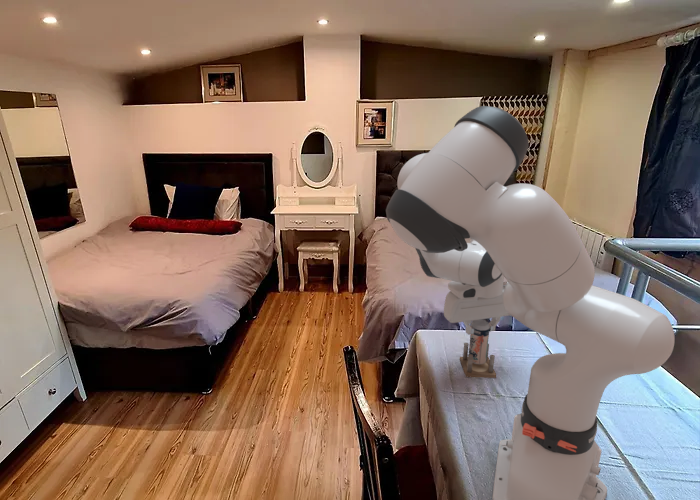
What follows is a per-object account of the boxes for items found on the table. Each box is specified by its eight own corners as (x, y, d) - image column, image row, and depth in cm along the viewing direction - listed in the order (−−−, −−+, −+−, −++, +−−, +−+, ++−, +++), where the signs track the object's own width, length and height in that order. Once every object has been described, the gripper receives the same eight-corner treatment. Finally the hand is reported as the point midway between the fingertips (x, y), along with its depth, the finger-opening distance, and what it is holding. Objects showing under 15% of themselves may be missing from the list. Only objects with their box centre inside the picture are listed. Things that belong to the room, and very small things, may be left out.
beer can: (464, 357, 104) (467, 319, 100) (478, 353, 106) (482, 316, 102) (474, 367, 100) (478, 328, 96) (489, 363, 101) (494, 324, 97)
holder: (496, 378, 99) (498, 358, 97) (465, 377, 100) (467, 357, 98) (488, 360, 107) (490, 342, 105) (459, 359, 107) (461, 341, 105)
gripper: (513, 275, 100) (508, 321, 104) (442, 283, 96) (440, 330, 101) (528, 284, 94) (522, 332, 98) (453, 293, 90) (450, 343, 95)
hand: (480, 331), depth 100 cm, fingers closed on beer can, 5 cm apart
